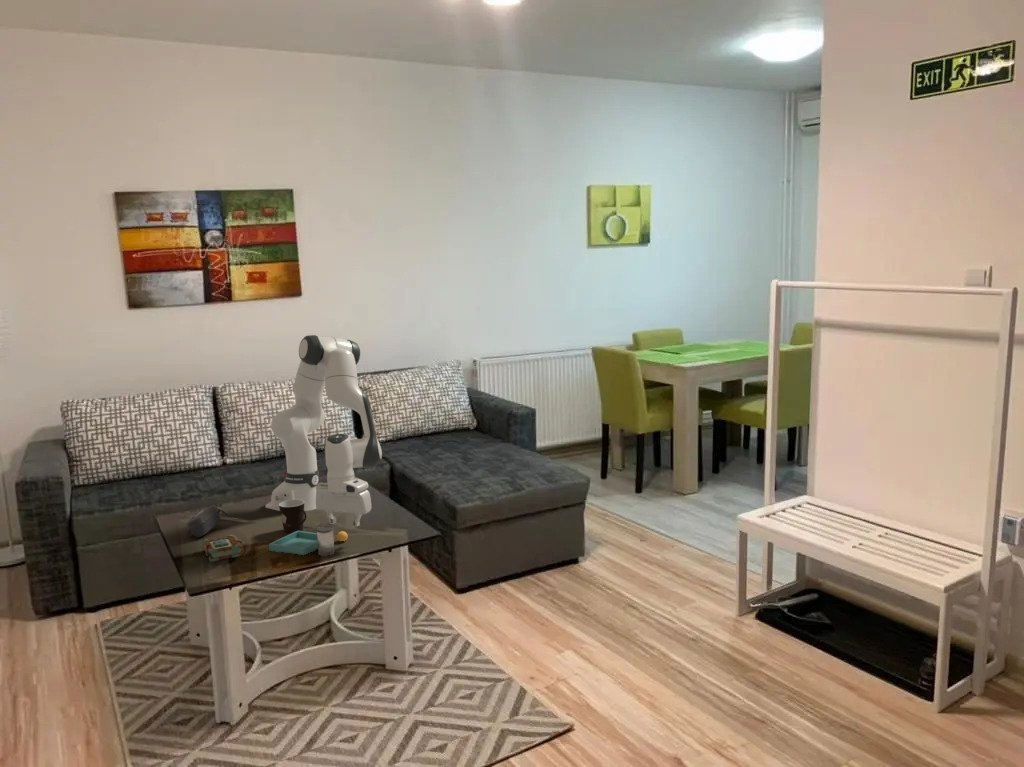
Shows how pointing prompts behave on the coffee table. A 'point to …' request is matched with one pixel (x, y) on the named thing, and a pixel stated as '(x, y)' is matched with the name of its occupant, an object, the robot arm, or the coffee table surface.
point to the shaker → (325, 539)
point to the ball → (342, 536)
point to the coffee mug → (292, 515)
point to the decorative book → (223, 547)
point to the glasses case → (204, 521)
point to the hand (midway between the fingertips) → (344, 524)
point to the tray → (296, 543)
